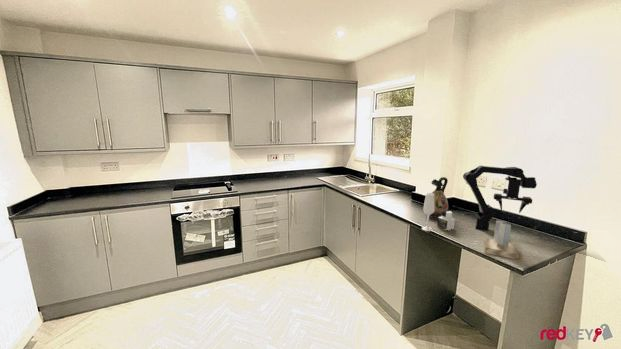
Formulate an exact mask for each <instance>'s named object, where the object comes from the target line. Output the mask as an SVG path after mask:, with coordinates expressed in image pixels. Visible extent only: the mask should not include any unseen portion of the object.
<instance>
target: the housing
mask: <svg viewBox="0 0 621 349" xmlns="http://www.w3.org/2000/svg"><path fill="white" fill-rule="evenodd" d="M511 228H512V224H511V223H510V222H509V221H506V220H496V221H495V227H494V235H493V239H494V241H493V243H494V244H495V245H496V246H497V247H504V248H508V243H509V242H510V237H511V236H510V235H511Z"/></svg>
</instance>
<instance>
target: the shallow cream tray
mask: <svg viewBox="0 0 621 349" xmlns="http://www.w3.org/2000/svg"><path fill="white" fill-rule="evenodd" d="M493 241H494V238H489V237H484V239H483V244H484V245H483V247H484V249H483V250H484V253H486V254H491V255H495V256H500V257H505V258H509V259H512V260H519V251H518V247H517V245H516V243H515V242H510V241H509V243H508V248H504V247H497V246H496V245H495V244H494V243H493Z"/></svg>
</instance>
